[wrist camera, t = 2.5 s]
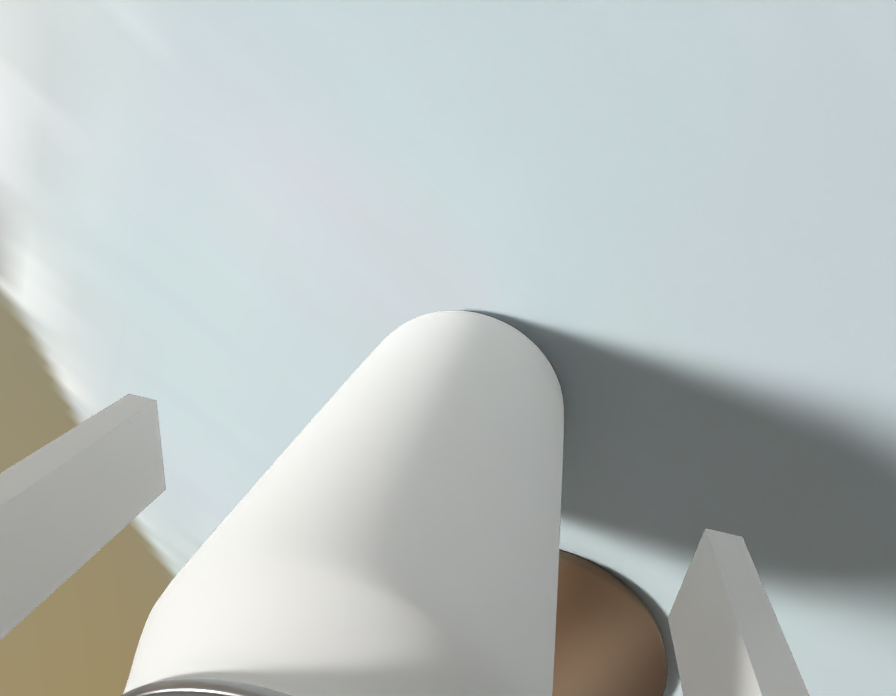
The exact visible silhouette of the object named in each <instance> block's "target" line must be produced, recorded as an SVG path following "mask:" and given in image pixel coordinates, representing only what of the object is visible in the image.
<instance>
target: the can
mask: <svg viewBox="0 0 896 696" xmlns="http://www.w3.org/2000/svg"><path fill="white" fill-rule="evenodd" d="M563 443H564V404H563V396H562V391H561V387H560V384H559V381H558V378H557V376H556V374H555V372H554V370H553V368H552V366H551V364H550V363H549V361H548V360H547V358H546V357H545V355H544V354H543V353H542V352H541V350H540V349H539V348H538V347H537V346H536V345H535V344H534V343H533V342H532V341H531V340H530V339H529V338H527V337H526V336H525V335H524V334H522V333H521V332H520V331H518V330H517V329H515V328H513V327H512V326H510V325H508V324H506V323H504V322H502V321H500V320H498V319H495V318H493V317H490V316H487V315H483V314H479V313H474V312H468V311H440V312H434V313H429V314H426V315H422V316H419V317H417V318H414V319H412V320H410V321H408V322H406V323H404V324H403V325H401V326H400V327H398V328H397V329H396V330H394V331H393V332H392V333H391V334H389V335H388V336H387V337H386V338H385V339H384V340H383V341H382V342H381V343H380V344H379V345H378V346H377V348H376V349H375V350H374V351H373V352H372V353H371V354H370V355H369V356H368V357H367V358H366V360H365V361H364V362H363V363H362V364H361V365H360V366H359V367H358V369H357V370H356V371H355V372H354V373H353V374H352V375H351V376H350V377H349V379H348V380H347V381H346V382H345V383H344V384H343V385H342V386H341V388H340V389H339V390H338V391H337V392H336V393H335V394H334V395H333V397H332V398H331V399H330V400H329V401H328V402H327V403H326V404H325V406H324V407H323V408H322V409H321V410H320V411H319V412H318V413H317V415H316V416H315V417H314V418H313V419H312V420H311V421H310V422H309V424H308V425H307V426H306V427H305V428H304V429H303V430H302V432H301V433H300V434H299V435H298V436H297V437H296V438H295V439H294V441H293V442H292V443H291V444H290V445H289V446H288V447H287V449H286V450H285V451H284V452H283V453H282V454H281V455H280V456H279V458H278V459H277V460H276V461H275V462H274V463H273V464H272V466H271V467H270V468H269V469H268V470H267V471H266V472H265V474H264V475H263V476H262V477H261V478H260V479H259V480H258V482H257V483H256V484H255V485H254V486H253V487H252V488H251V490H250V491H249V492H248V493H247V494H246V495H245V496H244V497H243V499H242V500H241V501H240V502H239V503H238V504H237V505H236V507H235V508H234V509H233V510H232V511H231V512H230V513H229V515H228V516H227V517H226V518H225V519H224V520H223V522H222V523H221V524H220V525H219V526H218V527H217V528H216V530H215V531H214V532H213V533H212V534H211V535H210V537H209V538H208V539H207V540H206V541H205V542H204V543H203V545H202V546H201V547H200V548H199V549H198V550H197V552H196V553H195V554H194V555H193V556H192V557H191V559H190V560H189V561H188V562H187V563H186V565H185V566H184V567H183V568H182V569H181V571H180V572H179V573H178V574H177V576H176V577H175V578H174V579H173V580H172V582H171V583H170V584H169V586H168V587H167V588H166V590H165V591H164V593H163V594H162V595H161V597H160V598H159V600H158V601H157V603H156V604H155V606H154V607H153V609H152V611H151V613H150V615H149V617H148V619H147V622H146V624H145V626H144V629H143V632H142V635H141V638H140V641H139V644H138V647H137V650H136V654H135V657H134V661H133V665H132V668H131V671H130V675H129V678H128V682H127V685H126V688H125V691H124V693H123V695H121V696H552V691H553V672H554V653H555V632H556V610H557V589H558V566H559V543H560V520H561V495H562V471H563Z"/></svg>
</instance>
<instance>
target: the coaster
mask: <svg viewBox="0 0 896 696" xmlns="http://www.w3.org/2000/svg"><path fill="white" fill-rule="evenodd" d="M666 681H667V662H666V655H665V649H664V644H663V640H662V636H661V632H660V630H659V628H658V626H657V623H656V621H655V619H654V617H653V616H652V614H651V613H650V611H649V610H648V608H647V607H646V605H645V604H644V603H643V602H642V601H641V599H640V598H639V597H638V596H637V595H636V594H635V593H634V592H633V591H632V590H631V589H630V588H629V587H628V586H626V585H625V584H624V583H623V582H622V581H621V580H619V579H618V578H616V577H615V576H613V575H612V574H611V573H609V572H608V571H606V570H604V569H603V568H601V567H599V566H597V565H595V564H594V563H592V562H590V561H587V560H585V559H583V558H580V557H578V556H576V555H573V554H570V553H567V552H564V551H561V550H559V566H558V589H557V610H556V632H555V653H554V672H553V691H552V696H663V693H664V690H665V687H666Z"/></svg>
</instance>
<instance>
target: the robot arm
mask: <svg viewBox="0 0 896 696" xmlns="http://www.w3.org/2000/svg"><path fill="white" fill-rule="evenodd" d="M165 490H166V486H165V477H164V467H163V457H162V448H161V438H160V429H159V419H158V410H157V400H153V399H149V398H145V397H140V396H136V395H132V394H128V395H126V396H125V397H123V398H121V399H120V400H118V401H116V402H115V403H113V404H112V405H110V406H108V407H107V408H105V409H104V410H102V411H100V412H99V413H97V414H95V415H94V416H92V417H91V418H89V419H87V420H86V421H84V422H83V423H81V424H79V425H78V426H76V427H74V428H73V429H71V430H70V431H68V432H66V433H65V434H63V435H62V436H60V437H58V438H57V439H55V440H53V441H52V442H50V443H49V444H47V445H45V446H44V447H42V448H41V449H39V450H37V451H36V452H34V453H33V454H31V455H29V456H28V457H26V458H24V459H23V460H21V461H19V462H18V463H16V464H15V465H13V466H12V467H10V468H8V469H7V470H5V471H3V472H2V473H0V640H1V639H2V638H4V637H5V636H6V635H7V634H8V633H9V632H10V631H11V630H12V629H13V628H14V627H15V626H17V625H18V624H19V623H20V622H21V621H22V620H23V619H24V618H25V617H27V616H28V615H29V614H30V613H31V612H32V611H33V610H34V609H35V608H36V607H37V606H39V605H40V604H41V603H42V602H43V601H44V600H45V599H46V598H47V597H48V596H50V595H51V594H52V593H53V592H54V591H55V590H56V589H57V588H58V587H59V586H60V585H62V584H63V583H64V582H65V581H66V580H67V579H68V578H69V577H70V576H71V575H73V573H75V572H76V571H77V570H78V569H79V568H80V567H81V566H82V565H83V564H85V562H87V561H88V560H89V559H90V558H91V557H92V556H93V555H94V554H95V553H97V552H98V550H100V549H101V548H102V547H103V546H104V545H105V544H106V543H108V542H109V541H110V540H111V539H112V538H113V537H114V536H115V535H116V534H117V533H118V532H120V531H121V530H122V529H123V528H124V527H125V526H126V525H127V524H128V523H129V522H131V521H132V520H133V519H134V518H135V517H136V516H137V515H138V514H139V513H140V512H142V511H143V510H144V509H145V508H146V507H147V506H148V505H149V504H150V503H151V502H152V501H154V500H155V499H156V498H157V497H158V496H159V495H160V494H161V493H162V492H163V491H165ZM668 622H669V626H670V631H671V636H672V641H673V646H674V651H675V656H676V661H677V666H678V671H679V676H680V681H681V686H682V691H683V696H809V694H808V691H807V689H806V686H805V684H804V682H803V679H802V677H801V675H800V672H799V670H798V667H797V665H796V663H795V660H794V658H793V656H792V653H791V651H790V649H789V646H788V644H787V641H786V639H785V637H784V634H783V632H782V630H781V627H780V625H779V622H778V620H777V618H776V615H775V613H774V611H773V608H772V606H771V603H770V601H769V599H768V596H767V594H766V592H765V589H764V587H763V584H762V582H761V580H760V577H759V575H758V573H757V570H756V568H755V565H754V563H753V561H752V558H751V556H750V554H749V551H748V549H747V546H746V544H745V542H744V539H743V537H741V536H737V535H733V534H728V533H724V532H720V531H716V530H711V529H707V528H705V530H704V532H703V535H702V537H701V540H700V542H699V544H698V547H697V549H696V552H695V554H694V556H693V559H692V561H691V564H690V566H689V568H688V571H687V573H686V576H685V578H684V580H683V583H682V585H681V588H680V590H679V592H678V595H677V597H676V600H675V602H674V605H673V607H672V609H671V612H670V614H669V617H668Z"/></svg>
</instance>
